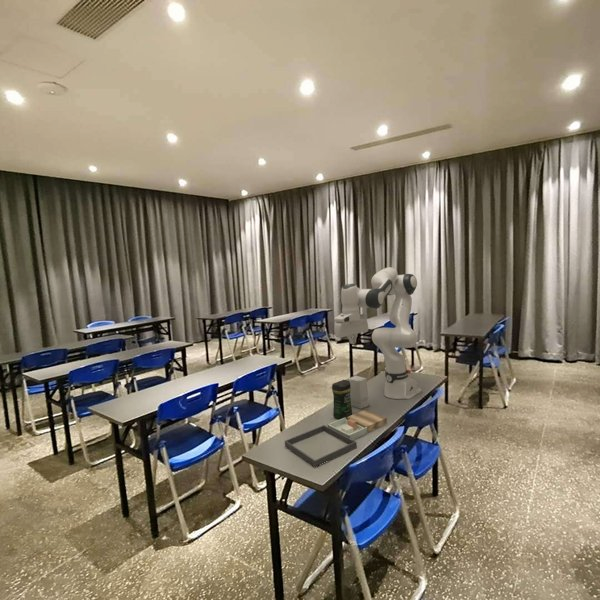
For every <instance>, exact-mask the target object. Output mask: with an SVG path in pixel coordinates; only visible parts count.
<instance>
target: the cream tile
mask: <svg viewBox="0 0 600 600" xmlns="http://www.w3.org/2000/svg"><path fill="white" fill-rule="evenodd" d="M341 431H343V432H345V433H347V434H350V433H352V432H354V429H353V427H351V426H349V425H346V426H343V427H341Z"/></svg>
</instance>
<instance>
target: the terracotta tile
mask: <svg viewBox="0 0 600 600" xmlns="http://www.w3.org/2000/svg"><path fill="white" fill-rule="evenodd" d="M346 420H347V419H346ZM347 423H348V425H349V426H351V427H353V429H354V431H355V430H357V424H356V421H354V420H352V419H349V420H347Z"/></svg>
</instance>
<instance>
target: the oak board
mask: <svg viewBox="0 0 600 600" xmlns="http://www.w3.org/2000/svg"><path fill="white" fill-rule="evenodd" d="M346 418H347V419H346V420H349V419H352V420H354V421H356V424H357V425H359V426H361V427H364V428H365V427H367V434H368V433H370V432H373V431H375V430H378V429H379V428H381V427H384V426H386V425H387V424H388V422H387V417H385V416H382V415H380V414H378V413H375V412H373V411H370V410H368V409H363V410H361V411H359V412H356V413H354V414H353V413H352V415H351V416H348V417H346Z"/></svg>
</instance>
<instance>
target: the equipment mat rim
mask: <svg viewBox="0 0 600 600" xmlns="http://www.w3.org/2000/svg"><path fill="white" fill-rule="evenodd" d="M322 432H326V433H327V434H329V435H331V436H333V437H336V438H337V439H338V440H340V441H341V442H344V443H346V445H345V446H343V447H340V448H337V450H334V451H332V452H330V453H328V454H326V455H323V456H321V457H319V458H316V459H314V458H312V457H311V456H310V455H308V454H307V453H305V452H304V451H302V450H300V449H299V448H298V447H296V446H294V445H293V444H296V443H299V442H301V441H303V440H305V439H308V438H310V437H313V436H315V435H318V434H319V433H322ZM357 444H358V442H357V441H355V440H352V439H350V438H348V437H346V436H344V435H342V434H340V433H338V432H337V431H335V430H333V429H331V428H329V427H328V425H324V424H323V425H321V426H318V427H315V428H313V429H311V430H309V431H306V432H303V433H301V434H299V435H296V436H293V437H291V438H288V439H286V440H284V447H285V448H287V449H288V450H289V451H291V452H293V453H294V454H295V455H297V456H298V457H300V458H301V459H303V460H304V461H305V462H307V463H308V464H309V465H311V466H312V465H313V466H312V467H314V468H317V467H319V466H321V465H320V464H322V463H324V462H326V461H328V460H330V461H332V460H334V459H336V458H338V457H339V456H340V457H341V456H342V455H345V454H347V453H349V452H350V451H353V450H354V449H357V447H358V445H357ZM337 456H338V457H337ZM335 457H336V458H335ZM333 458H334V459H333ZM331 459H332V460H331ZM328 462H329V461H328ZM326 463H327V462H326ZM324 464H325V463H324ZM318 465H319V466H318ZM322 465H323V464H322ZM316 466H317V467H316Z"/></svg>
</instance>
